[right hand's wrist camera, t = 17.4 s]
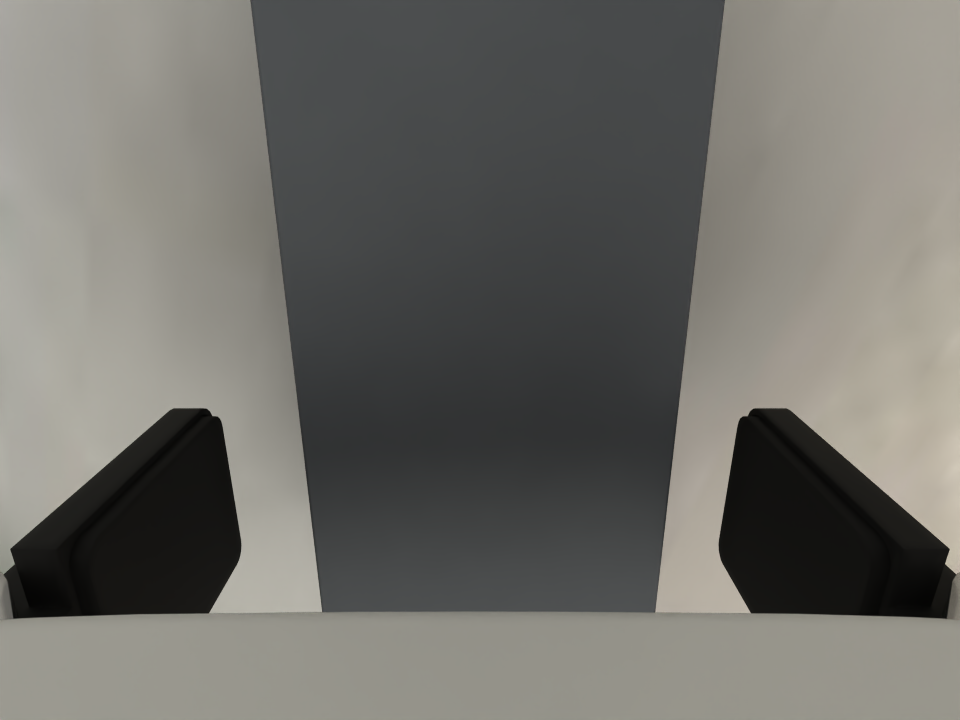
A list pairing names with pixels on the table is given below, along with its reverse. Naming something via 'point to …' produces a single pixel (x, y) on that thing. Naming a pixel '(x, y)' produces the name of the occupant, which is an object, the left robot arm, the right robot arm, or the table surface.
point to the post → (488, 288)
